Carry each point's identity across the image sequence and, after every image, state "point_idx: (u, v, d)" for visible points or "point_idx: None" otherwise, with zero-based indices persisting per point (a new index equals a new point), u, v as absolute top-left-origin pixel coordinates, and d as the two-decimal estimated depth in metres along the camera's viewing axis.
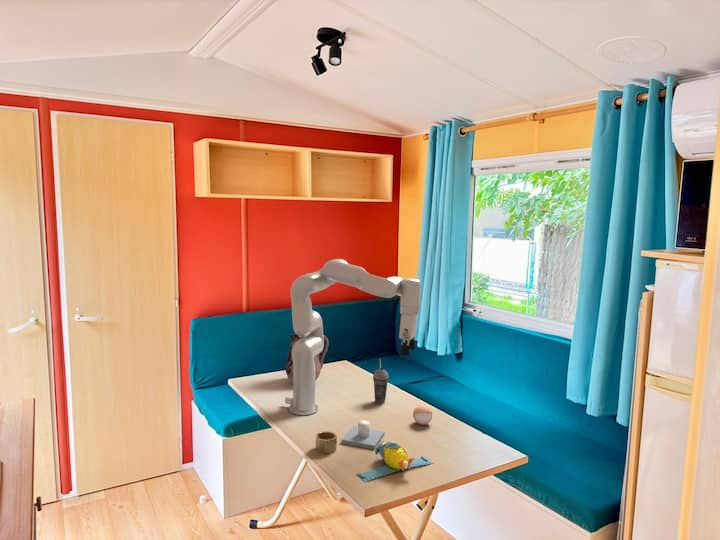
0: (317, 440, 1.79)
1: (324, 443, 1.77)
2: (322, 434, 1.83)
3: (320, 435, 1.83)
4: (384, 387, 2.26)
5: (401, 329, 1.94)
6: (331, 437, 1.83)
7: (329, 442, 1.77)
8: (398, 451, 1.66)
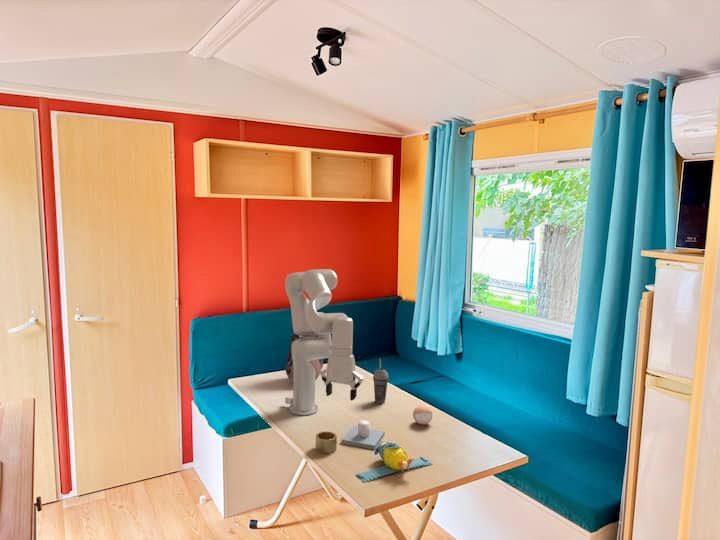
0: (317, 440, 1.79)
1: (324, 443, 1.77)
2: (322, 434, 1.83)
3: (320, 435, 1.83)
4: (384, 387, 2.26)
5: (351, 373, 1.78)
6: (331, 437, 1.83)
7: (329, 442, 1.77)
8: (398, 452, 1.66)
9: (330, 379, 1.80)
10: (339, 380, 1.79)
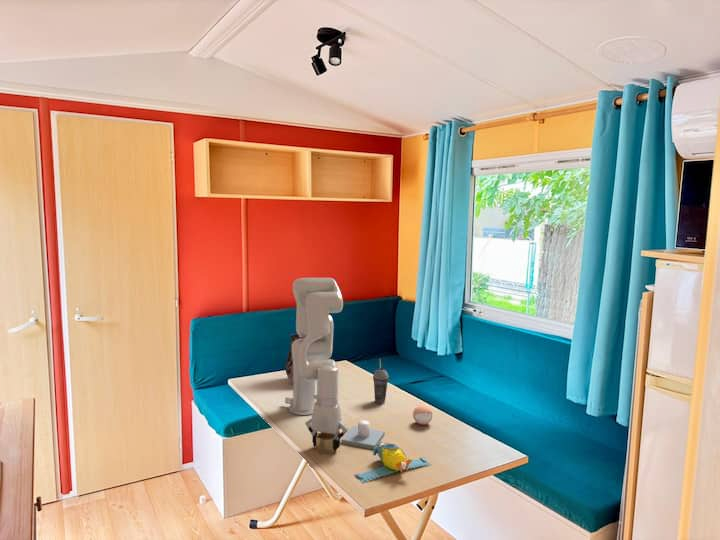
0: (317, 440, 1.79)
1: (324, 443, 1.77)
2: (322, 434, 1.83)
3: (320, 435, 1.83)
4: (384, 387, 2.26)
5: (337, 423, 1.77)
6: (331, 437, 1.83)
7: (329, 442, 1.77)
8: (396, 452, 1.65)
9: (315, 428, 1.79)
10: (325, 430, 1.78)
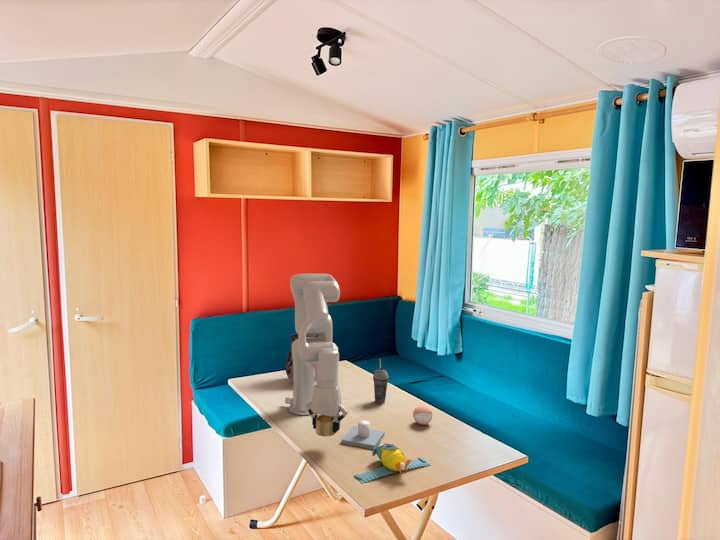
0: (317, 422, 1.79)
1: (324, 426, 1.77)
2: (322, 417, 1.83)
3: (320, 417, 1.83)
4: (384, 387, 2.26)
5: (337, 405, 1.77)
6: (331, 420, 1.83)
7: (329, 425, 1.77)
8: (395, 453, 1.65)
9: (315, 411, 1.79)
10: (325, 412, 1.77)
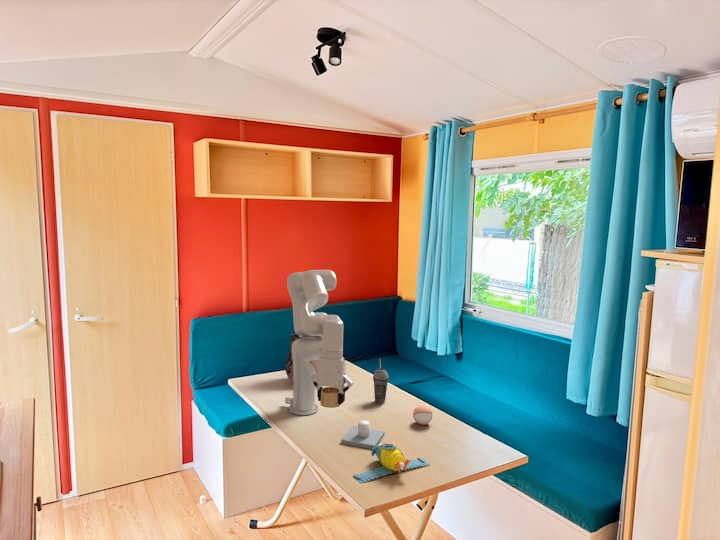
0: (322, 394, 1.78)
1: (329, 397, 1.76)
2: (327, 389, 1.83)
3: (325, 390, 1.82)
4: (384, 387, 2.26)
5: (342, 376, 1.76)
6: (336, 392, 1.82)
7: (334, 396, 1.76)
8: (394, 453, 1.65)
9: (320, 382, 1.78)
10: (330, 383, 1.77)
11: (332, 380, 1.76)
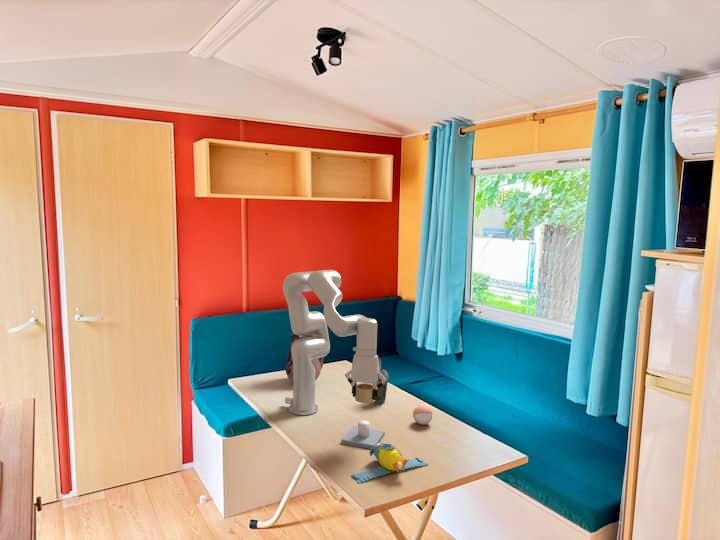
0: (357, 390, 1.86)
1: (364, 392, 1.84)
2: (361, 385, 1.91)
3: (359, 386, 1.90)
4: (384, 387, 2.26)
5: (377, 373, 1.84)
6: (369, 388, 1.91)
7: (369, 391, 1.85)
8: (393, 452, 1.65)
9: (355, 379, 1.86)
10: (364, 380, 1.85)
11: (367, 377, 1.84)
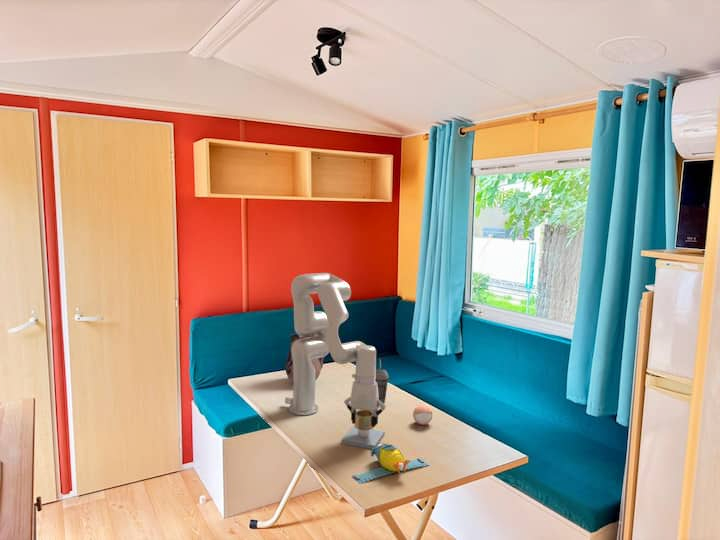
0: (356, 417, 1.87)
1: (363, 420, 1.86)
2: (360, 412, 1.92)
3: (358, 413, 1.91)
4: (384, 387, 2.26)
5: (376, 400, 1.85)
6: (369, 415, 1.92)
7: (368, 419, 1.86)
8: (394, 453, 1.65)
9: (354, 406, 1.87)
10: (364, 407, 1.86)
11: (366, 404, 1.86)
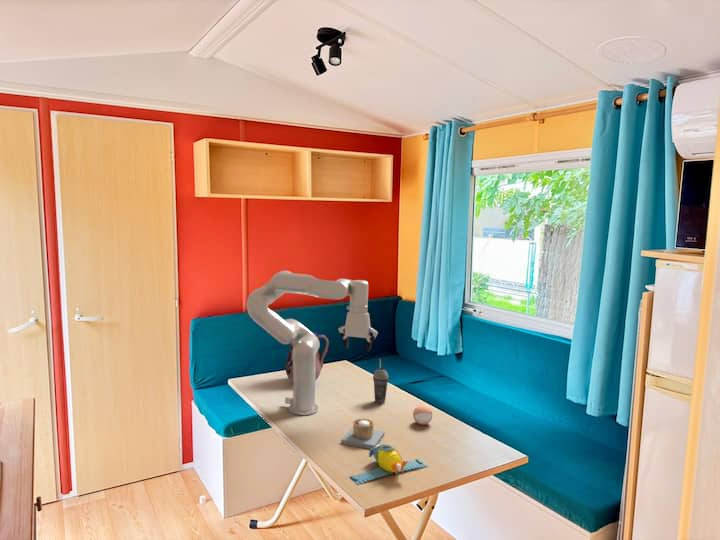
0: (355, 426, 1.88)
1: (362, 429, 1.86)
2: None
3: (357, 422, 1.92)
4: (384, 387, 2.26)
5: (368, 328, 2.07)
6: None
7: (367, 428, 1.86)
8: (392, 454, 1.64)
9: (348, 334, 2.09)
10: (357, 334, 2.08)
11: (359, 331, 2.08)
